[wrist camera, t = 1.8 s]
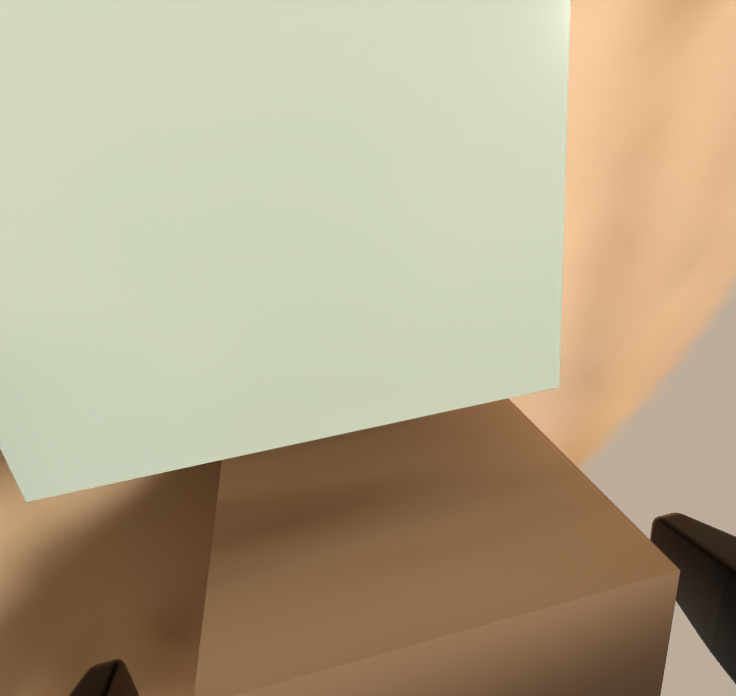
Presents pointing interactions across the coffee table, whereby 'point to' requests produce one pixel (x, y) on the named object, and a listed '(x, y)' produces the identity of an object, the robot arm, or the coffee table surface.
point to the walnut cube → (429, 569)
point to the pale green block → (270, 223)
